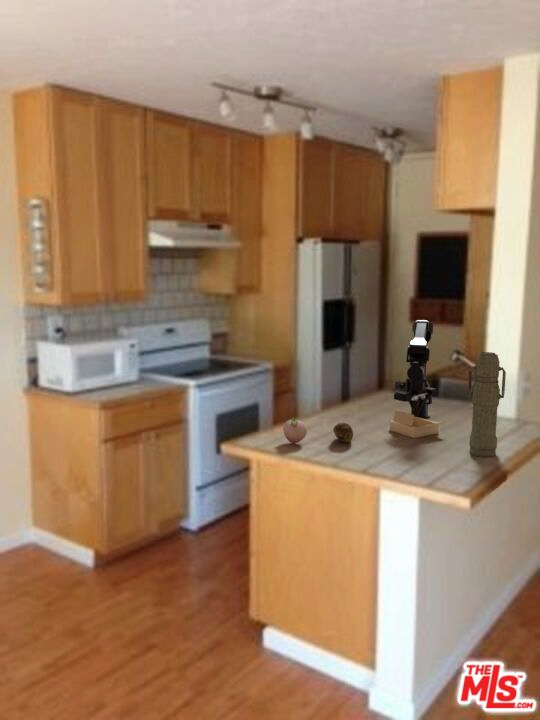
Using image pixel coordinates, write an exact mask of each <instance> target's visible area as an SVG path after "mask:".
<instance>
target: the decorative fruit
mask: <svg viewBox="0 0 540 720" xmlns="http://www.w3.org/2000/svg"><path fill="white" fill-rule="evenodd" d="M282 430H283V435H284V436H285V438H286V439H287V441H288V442H289V443H290V444H293V445H296V444H297V443H300V442H301V441H303V440H304V439H305V437H306V436H307V433H308V429H307V426H306V424H305V423H304V422H303V421H301V420H299V419H298V418H296V417H294V416H293V418H290V419H289V420H287V421H286V422H285V423H284V425H283V427H282Z"/></svg>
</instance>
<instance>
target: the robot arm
mask: <svg viewBox="0 0 540 720" xmlns="http://www.w3.org/2000/svg"><path fill="white" fill-rule="evenodd" d="M411 326H412V327H411V332H412V335H413V339H412V340H410V341H409V345H408V346H407V351H406V360H405V361H406V362H405V363H409V367H408V368H407V371H406V372H407V373H406V375H407V377H406V381H405V382H402V381H401V380H396V381H395V382H394V389H395V390H396V391H395V392H394V393H393V400H394V401H395V400H396V401H400V402H405V403H406V402H408V404H409V405H410V408H411V412H410V414H412V415H414V417H419V418H423V419H429V418H431V415H429V411H428V410H429V406H430V405H432V404H433V398H435V397H439V390H438V389H437V388H434V387H430V384H429V382H428V379H427V366H428V365H427V364H428V362H429V361H430V355H431V350H430V348H429V346H428V345H429V343H430V341H431V339H432V335H434V332H435V331H434V330H435V328H434V327H435V326H434V323H432V322H429V321H428V320H425V319H421V320H420V319H417V320H415V322H412V325H411Z"/></svg>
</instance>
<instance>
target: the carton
mask: <svg viewBox="0 0 540 720" xmlns="http://www.w3.org/2000/svg"><path fill="white" fill-rule="evenodd" d="M393 420H394V419H392V420H390V421H389V431H390V432H393V433H396V434H398V435H399V434H400V435H403V436H406V437H408V438H413V439H419V438H422V437H426V436H432V435H436V434H439V429H440V428H439V425H440V424H436V425H431V426H426V427H418V426H423V425H428V424H433V423H438V422H437V421H433V420H430V419H427V418H425V419H423V418H419V417H414V419H413V425H412V426H410V425H407V424H403V423H400V422H396V421H393Z"/></svg>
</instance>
